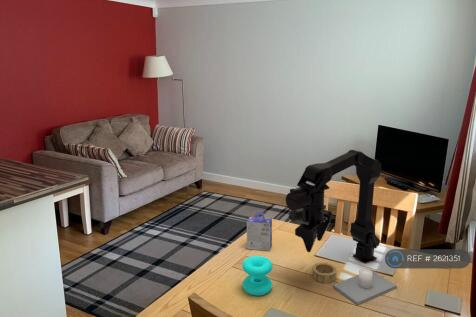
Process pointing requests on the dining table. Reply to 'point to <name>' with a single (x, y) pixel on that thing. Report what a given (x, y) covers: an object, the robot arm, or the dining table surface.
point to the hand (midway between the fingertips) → (314, 246)
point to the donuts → (257, 275)
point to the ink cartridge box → (259, 233)
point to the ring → (321, 276)
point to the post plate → (364, 293)
